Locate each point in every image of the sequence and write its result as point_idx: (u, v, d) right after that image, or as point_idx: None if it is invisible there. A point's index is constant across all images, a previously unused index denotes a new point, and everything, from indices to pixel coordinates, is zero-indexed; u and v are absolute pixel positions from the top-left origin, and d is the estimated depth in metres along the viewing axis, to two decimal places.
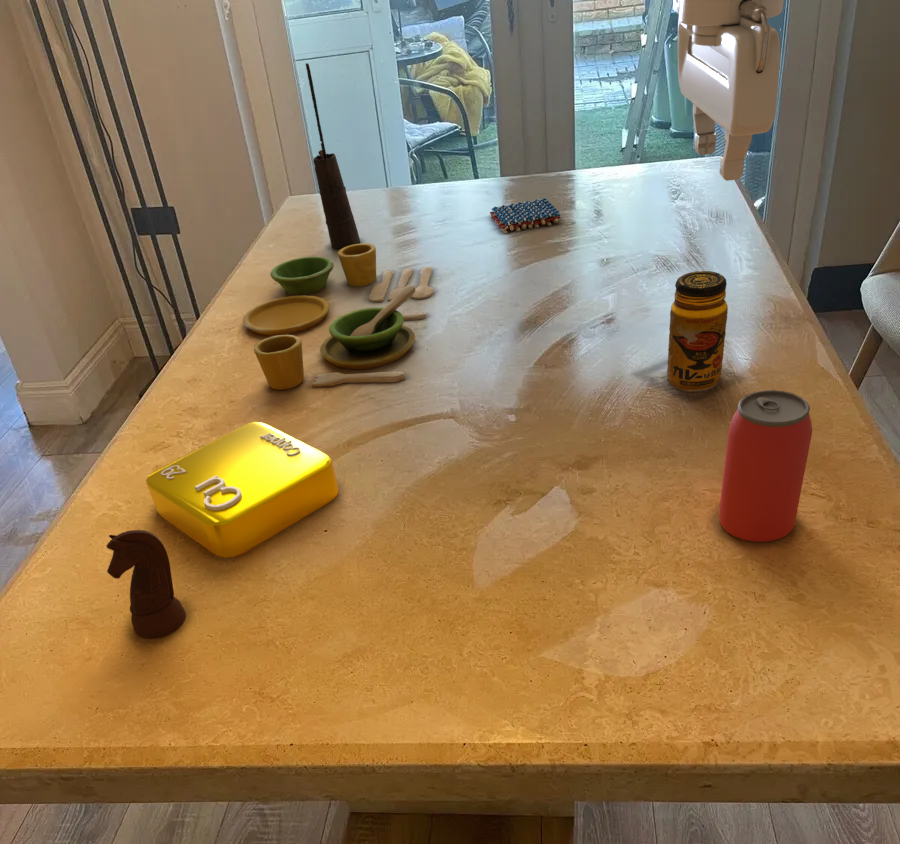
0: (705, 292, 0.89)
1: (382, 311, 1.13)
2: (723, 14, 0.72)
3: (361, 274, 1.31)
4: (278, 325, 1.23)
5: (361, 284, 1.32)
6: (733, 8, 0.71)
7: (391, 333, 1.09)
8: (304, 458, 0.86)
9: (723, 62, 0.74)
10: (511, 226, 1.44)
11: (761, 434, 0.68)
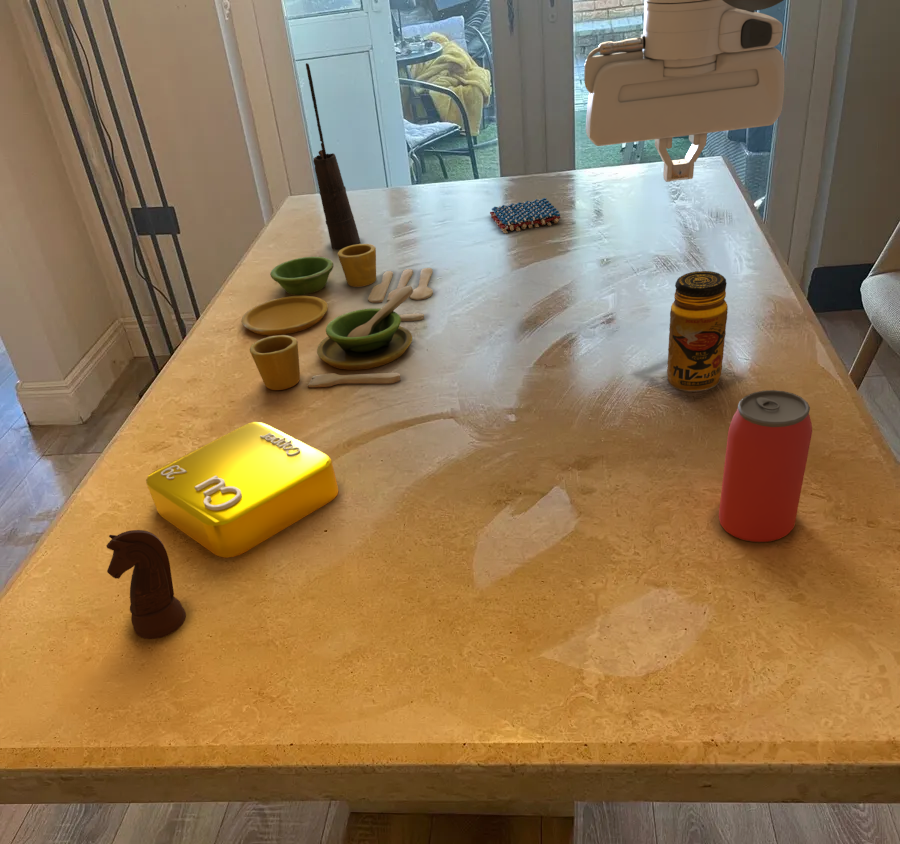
0: (705, 292, 0.89)
1: (379, 312, 1.13)
2: None
3: (361, 274, 1.31)
4: (276, 325, 1.23)
5: (361, 284, 1.32)
6: None
7: (387, 334, 1.09)
8: (304, 459, 0.86)
9: None
10: (511, 226, 1.44)
11: (761, 434, 0.68)
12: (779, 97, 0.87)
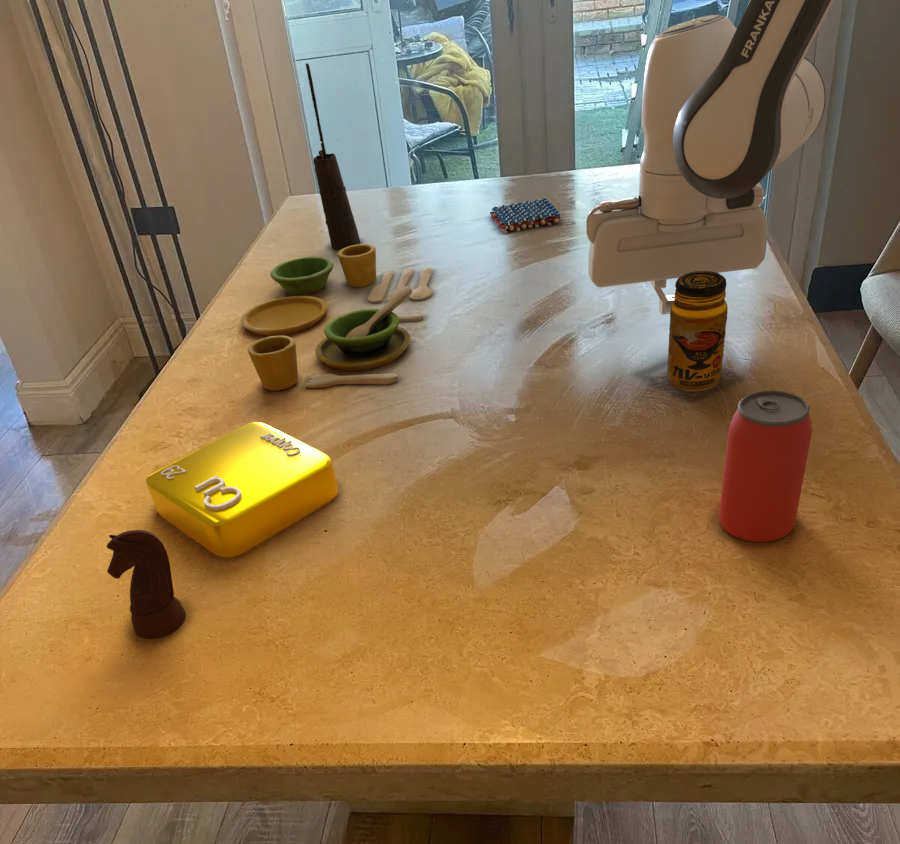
0: (705, 292, 0.89)
1: (378, 313, 1.13)
2: None
3: (361, 275, 1.31)
4: (275, 325, 1.23)
5: (361, 285, 1.32)
6: None
7: (386, 335, 1.09)
8: (304, 459, 0.86)
9: None
10: (511, 226, 1.44)
11: (761, 434, 0.68)
12: (762, 246, 0.97)
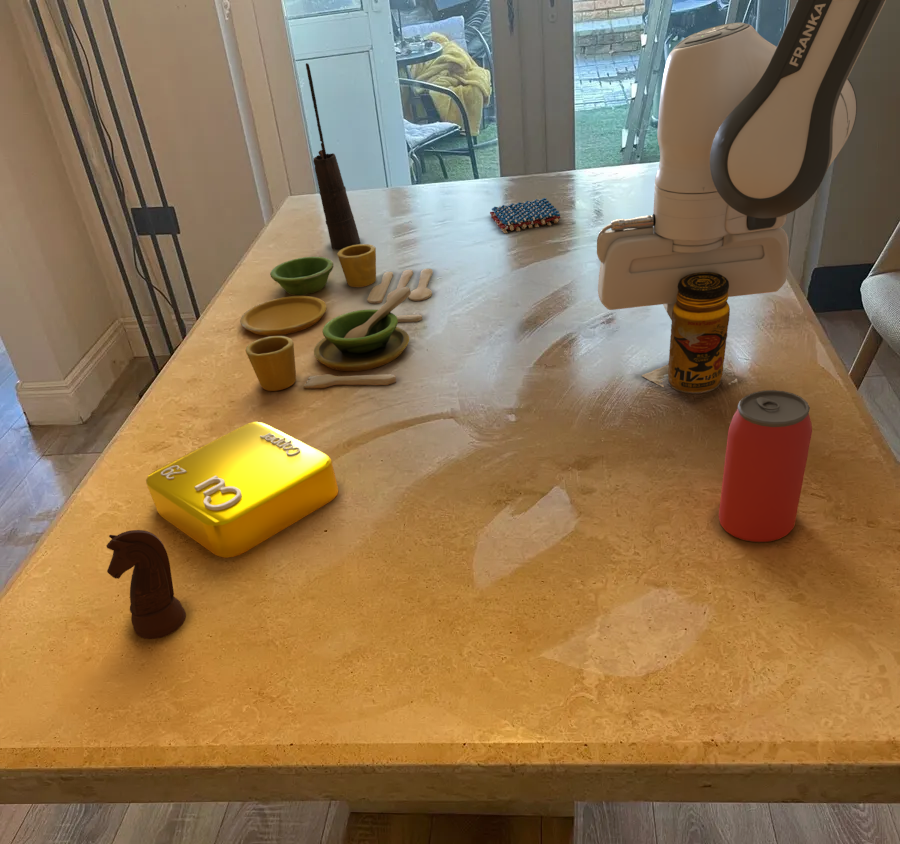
0: (707, 294, 0.88)
1: (376, 313, 1.13)
2: None
3: (361, 275, 1.31)
4: (275, 325, 1.23)
5: (360, 285, 1.32)
6: None
7: (384, 335, 1.09)
8: (304, 459, 0.86)
9: None
10: (511, 226, 1.44)
11: (761, 434, 0.68)
12: (783, 268, 0.91)
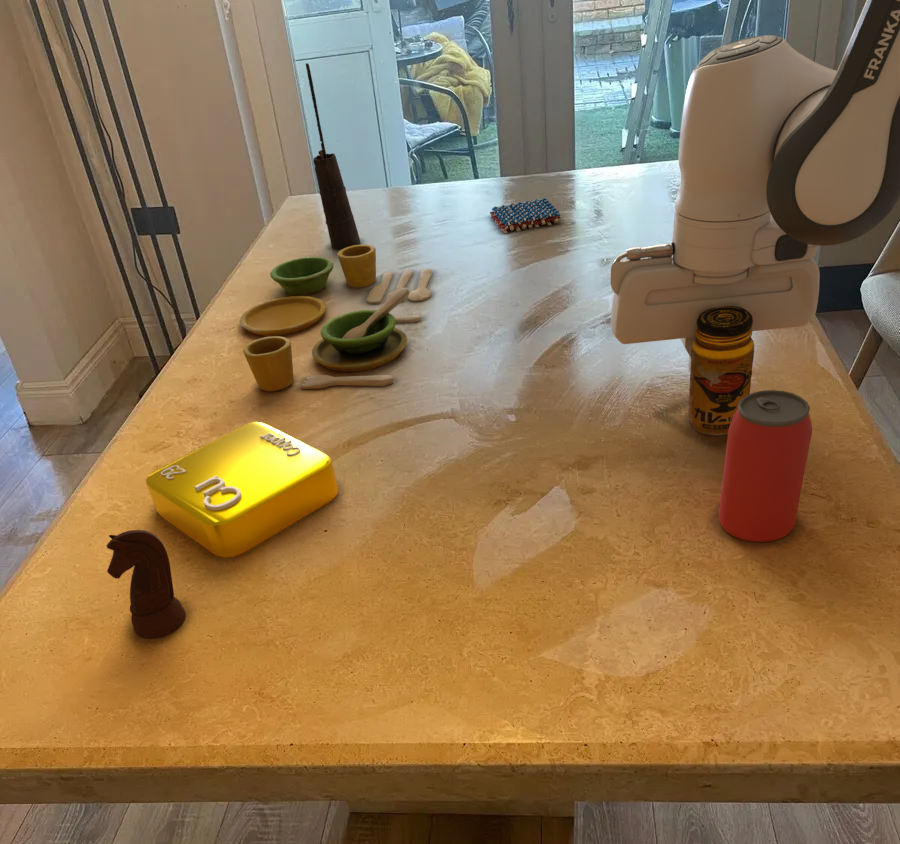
0: (729, 331, 0.81)
1: (375, 314, 1.13)
2: None
3: (360, 275, 1.31)
4: (274, 325, 1.23)
5: (360, 285, 1.32)
6: None
7: (382, 336, 1.09)
8: (304, 458, 0.86)
9: None
10: (511, 226, 1.44)
11: (761, 434, 0.68)
12: (813, 302, 0.84)
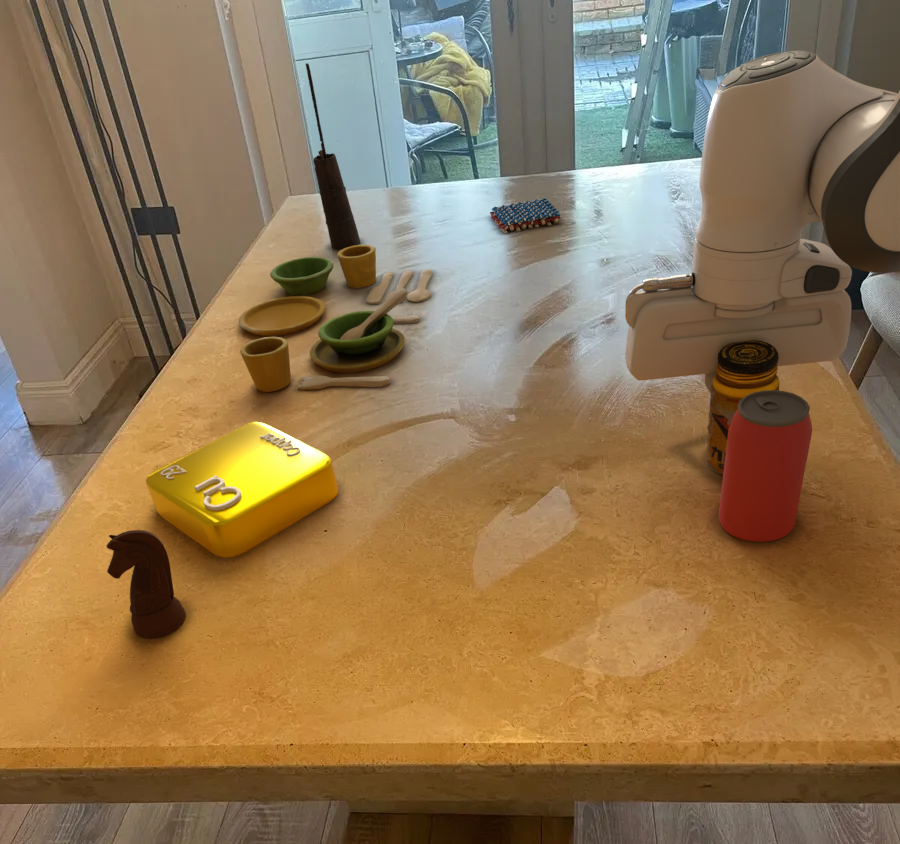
0: (749, 369, 0.75)
1: (373, 315, 1.13)
2: None
3: (360, 275, 1.31)
4: (273, 325, 1.23)
5: (360, 286, 1.32)
6: None
7: (379, 337, 1.09)
8: (304, 459, 0.86)
9: None
10: (511, 226, 1.44)
11: (761, 434, 0.68)
12: (844, 335, 0.78)
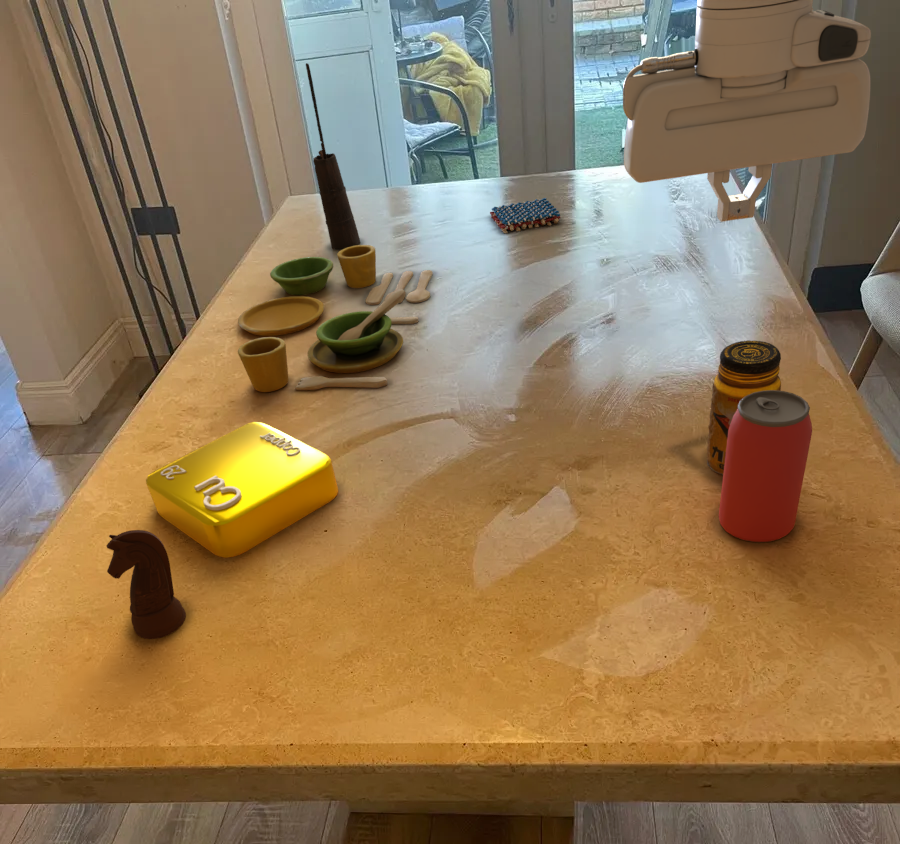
0: (752, 369, 0.75)
1: (371, 315, 1.13)
2: None
3: (360, 276, 1.31)
4: (272, 325, 1.23)
5: (360, 286, 1.32)
6: None
7: (377, 338, 1.08)
8: (304, 458, 0.86)
9: None
10: (511, 226, 1.44)
11: (761, 434, 0.68)
12: (862, 118, 0.71)
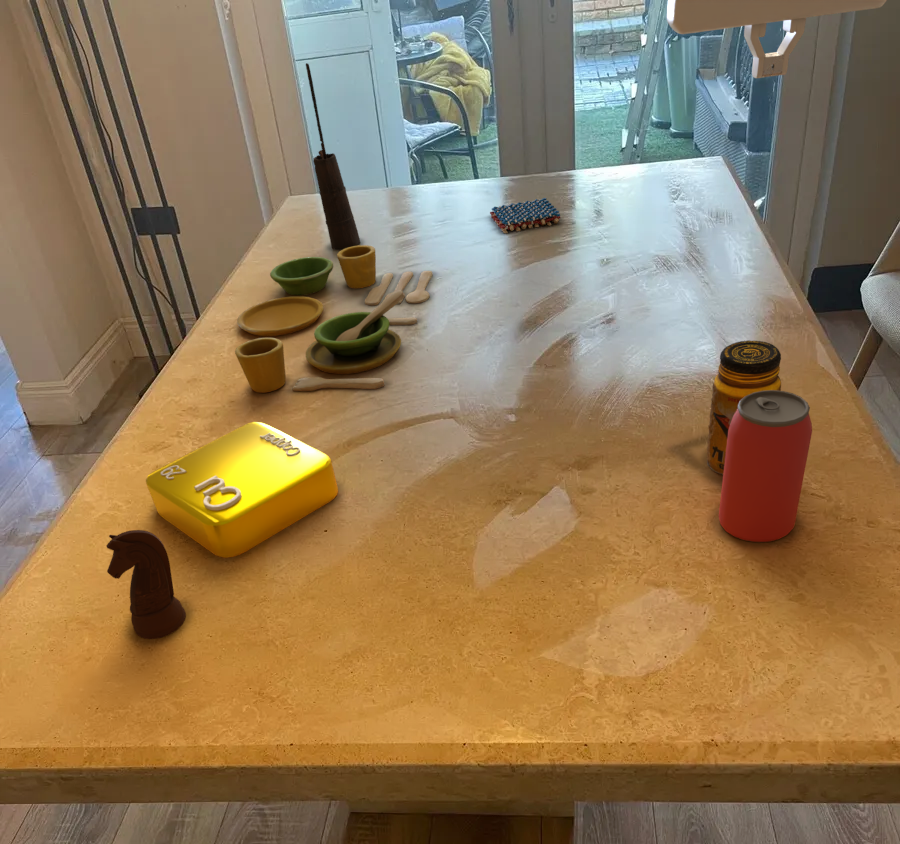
0: (752, 369, 0.75)
1: (369, 316, 1.13)
2: None
3: (359, 276, 1.31)
4: (271, 325, 1.23)
5: (359, 286, 1.32)
6: None
7: (374, 339, 1.08)
8: (304, 459, 0.86)
9: None
10: (511, 226, 1.44)
11: (761, 434, 0.68)
12: None
